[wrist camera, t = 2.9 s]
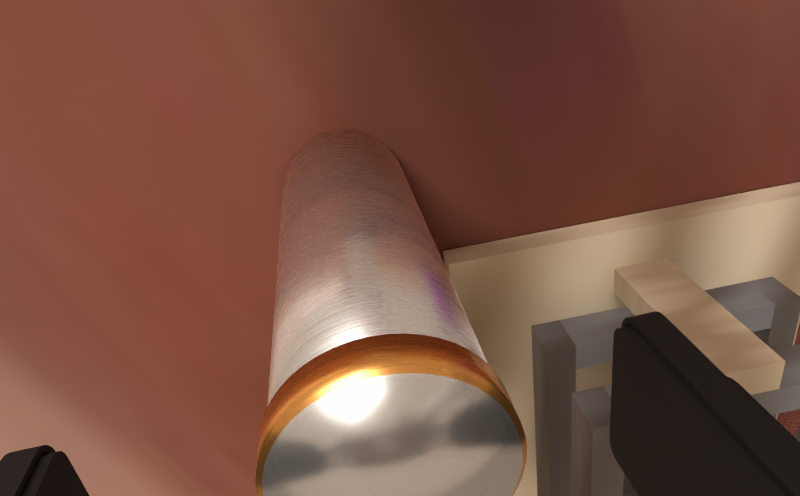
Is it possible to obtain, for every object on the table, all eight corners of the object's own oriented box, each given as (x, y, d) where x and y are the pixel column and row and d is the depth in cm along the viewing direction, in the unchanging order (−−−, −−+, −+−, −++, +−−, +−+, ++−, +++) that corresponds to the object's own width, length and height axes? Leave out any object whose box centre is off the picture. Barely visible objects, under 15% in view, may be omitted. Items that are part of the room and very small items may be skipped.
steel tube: (398, 116, 19) (524, 344, 8) (414, 233, 21) (533, 538, 10) (266, 139, 18) (220, 407, 8) (295, 256, 20) (290, 593, 10)
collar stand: (808, 180, 22) (1004, 273, 16) (752, 446, 29) (875, 583, 23) (442, 251, 21) (500, 378, 15) (472, 508, 28) (521, 670, 22)
